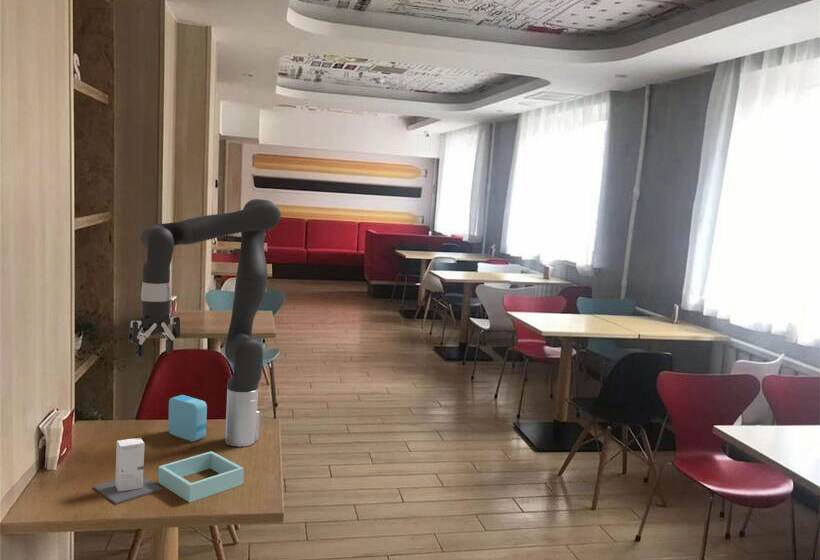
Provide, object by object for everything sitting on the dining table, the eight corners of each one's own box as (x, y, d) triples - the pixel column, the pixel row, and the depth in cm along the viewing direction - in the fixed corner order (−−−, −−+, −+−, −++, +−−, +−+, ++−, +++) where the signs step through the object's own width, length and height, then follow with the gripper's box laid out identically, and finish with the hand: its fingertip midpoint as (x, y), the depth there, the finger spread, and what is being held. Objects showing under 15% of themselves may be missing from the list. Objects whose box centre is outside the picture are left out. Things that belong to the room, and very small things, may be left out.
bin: (211, 466, 186) (211, 451, 186) (243, 484, 177) (243, 468, 176) (158, 482, 174) (158, 466, 174) (189, 502, 165) (190, 485, 164)
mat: (138, 474, 178) (138, 473, 178) (161, 490, 170) (161, 488, 170) (93, 487, 169) (93, 486, 169) (116, 504, 161) (116, 502, 161)
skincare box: (118, 492, 166) (119, 446, 164) (114, 485, 170) (115, 440, 168) (144, 488, 170) (145, 442, 168) (139, 481, 173) (140, 436, 172)
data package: (206, 438, 206) (207, 401, 204) (195, 443, 202) (196, 405, 201) (179, 429, 212) (180, 393, 210) (167, 433, 208) (168, 396, 206)
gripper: (172, 294, 191) (170, 348, 194) (124, 297, 181) (123, 355, 183) (186, 298, 187) (184, 354, 189) (138, 302, 176) (136, 361, 178)
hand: (154, 354), depth 186 cm, fingers open, 8 cm apart
